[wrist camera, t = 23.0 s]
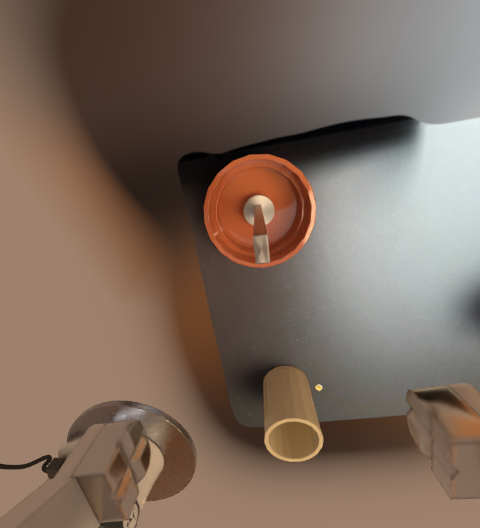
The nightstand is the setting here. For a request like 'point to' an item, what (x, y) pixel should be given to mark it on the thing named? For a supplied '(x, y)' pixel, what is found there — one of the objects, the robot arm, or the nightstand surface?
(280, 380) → the crock
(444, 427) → the robot arm
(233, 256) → the bowl
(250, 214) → the metal stirring rod
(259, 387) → the nightstand surface
